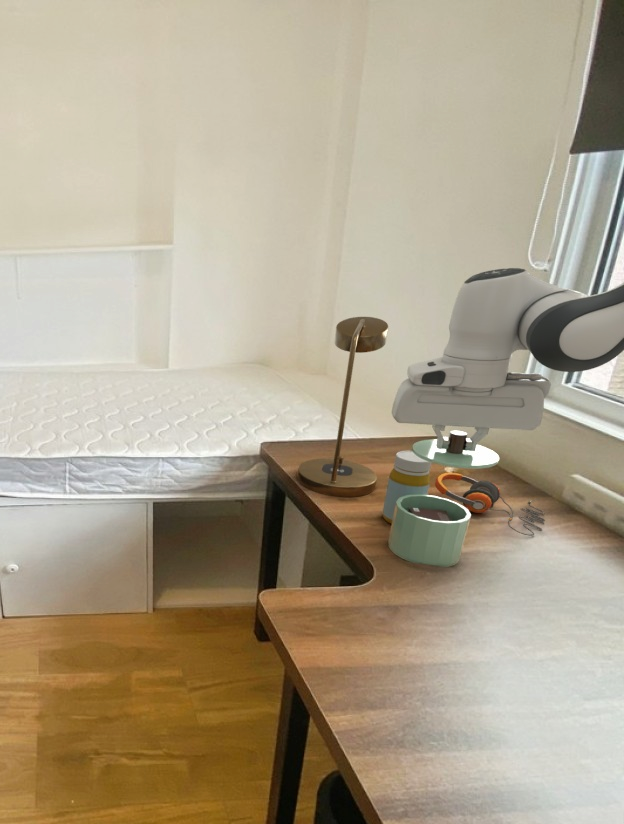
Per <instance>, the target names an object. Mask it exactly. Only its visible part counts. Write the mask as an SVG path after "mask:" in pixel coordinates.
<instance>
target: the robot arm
mask: <svg viewBox="0 0 624 824" xmlns="http://www.w3.org/2000/svg"><path fill="white" fill-rule="evenodd" d="M448 330H449V339H448V342H447V344H446V346H445V348H444V349H443V353H442V356H441V357H438V358H434V359H429V360H424V361H420V362H416V363H412V364H410V365H408V367H407V369H406V370H407V372H406V374H407V377H408V378H406V379H405V380H403V381H402V382H401V383H400V385H399V386H398V388H397V392H396V393H395V397H394V399H393V403H392V407H391V416H392V418H393V419H394V421H396V423H398V424H412V425H413V424H414V425H427V426H428V425H429V426H431V427H432V429H433V431H434V433H435V435H436V437H437V438H436V439H437V443H436V447H437V448H438V449H448V448H449V446H448V445H449V443H450V440H449V436H443V433H442V432H444V431H445V429H446V427H463V428H464V427H465V428H474V430H475V432H474V433H473V435H471V437H469V438H468V437H467V438H466V442H465V446H464V451H475V449H476V445H478V443H479V442H480V441H482V440H483V439H484V438H486V436H487V435H488V434H489V431H490V429H500V430H517V431H534V430H536V429H537V428H538V427H540V426H541V424H542V421H543V415H544V407H545V399H546V398H547V397H548V395H549V393H550V389H551V385H552V383H551V380H550V379H549V378H548V377H547V376H544V375H542V373H537V372H530V373H523V372H509V370H510V365H511V363H512V358H513V353H514V352H516V351H520V350H521V351H529V352H530V353H531V355H532V356H533V358H534V359H535V360H536V361H537V362H538V363H539V364H540V365H542V366H543V367H545V368H548V369H550V370H553V371H557V372H562V373H563V372H564V373H577V372H585V371H589V370H592V369H596V368H598V367H601V366H603V365H605V364H607V363H609V362H611V361H612V360H614V359H616V358H617V357H618V356H619V355H620V354H622V353H623V351H624V281H623V282H621V284H618V285H617V286H615V287H613V288H611V289H609V290H607V291H603V292H600V293H596V294H591V295H589V294H586V293H583V292H580V291H578V290H574V289H569V288H566V287H562V286H558V285H555V284H553V283H550V282H548V281H545V280H543V279H541V278H539V277H536V276H534V275H533V274H531V273H530V272H528V271H527V269H525V268H519V267H509V268H498V269H492V270H491V269H490V270H486V271H482V272H479V273H476V274H474V275H472V276H470V277H469V278H467V279H466V280H464V282H463V283H462V284H461V286H460V288H459V290H458V292H457V294H456V299H455V301H454V304H453V308H452V312H451V315H450V320H449V324H448Z"/></svg>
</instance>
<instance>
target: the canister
mask: <svg viewBox="0 0 624 824" xmlns="http://www.w3.org/2000/svg"><path fill="white" fill-rule="evenodd" d="M409 508H421V509H432V510H443V511H446V513H447V514H448V516H449V517H450V519H451V521H437V520H430V519H426V518H423V517H419V516H416V515H414V514H412V513H410V512H409ZM471 519H472V514H471V511H470V510H468V509H467V508H465V506H464V505H463V504H460V502H459V503H458V502H456V501H453V500H451V499H449V498H446V497H445V498H444V497H441V496H438V495H437V496H436V495H431V494H427V495H422V494H416V495H406V496H403V497H400V498H399V499H398V500H397V501H396V505H395V510H394V515H393V520H392V524H390V525H391V526H390V530H389V536H388V540H387V542H388V548H389V549H390V551H391V552H392V553H393V554H394V555H396V556H397V557H399V558H400V559H403V560H404V561H407V562H409V563H413V564H420V565H428V566H434V567H441V568H449V567H453V566H455V565H457V564H458V563H459V562H460V559H461V557H462V553H463V550H464V546H465V542H466V538H467V535H468V530H469V526H470V522H471Z"/></svg>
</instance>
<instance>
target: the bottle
mask: <svg viewBox="0 0 624 824" xmlns="http://www.w3.org/2000/svg"><path fill="white" fill-rule="evenodd" d="M432 464H433V463H432V462H429V461H426V460H424V459H421V458H420V457H418V456H416V455H415V454H414V453H413V452H412V450H400V451H398V452H396V454H395V458H394V464H393V468H392V470H391V471H390V473H389V477H388V481H387V485H386V486H387V487H386V493H385V497H384V502H383V507H382V512H381V513H382V515H381V516H382V517H383V520H384V521H386V522H387V523H389V524H390V525H392V520H393V515H394V510H395V505H396V501H397V500H398V499H399V498H400V497H403V496H406V495H416V494H422V495H429V488H430V485H431V476H430V471H431V468H432Z"/></svg>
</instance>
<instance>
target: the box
mask: <svg viewBox="0 0 624 824" xmlns="http://www.w3.org/2000/svg"><path fill="white" fill-rule="evenodd" d="M409 512H410V513H412V514H414V515H416V516H419V517H423V518H426V519H430V520H437V521H451V519H450V517H449V516H448V514H447V513H446V511H443V510H432V509H421V508H409Z"/></svg>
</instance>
